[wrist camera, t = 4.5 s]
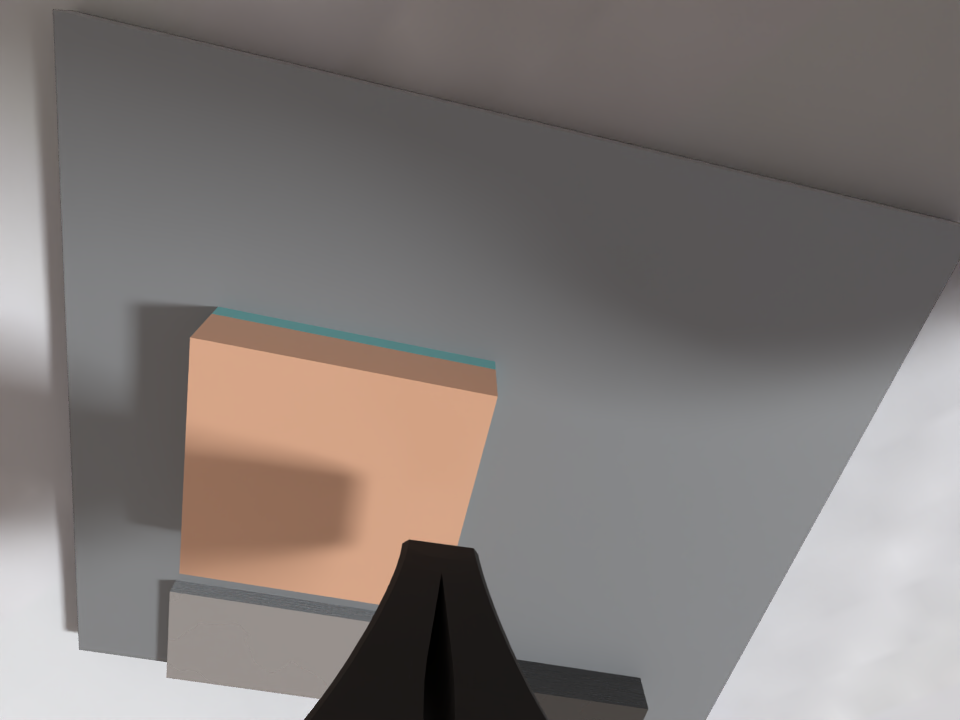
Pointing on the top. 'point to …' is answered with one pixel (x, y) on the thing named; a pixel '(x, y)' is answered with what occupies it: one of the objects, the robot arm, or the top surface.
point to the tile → (324, 453)
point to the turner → (337, 652)
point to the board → (479, 336)
